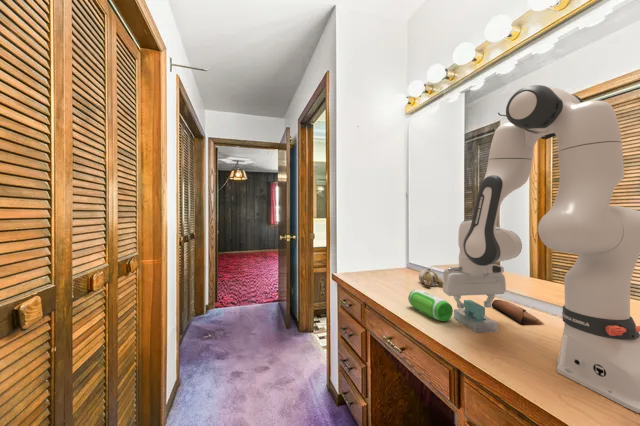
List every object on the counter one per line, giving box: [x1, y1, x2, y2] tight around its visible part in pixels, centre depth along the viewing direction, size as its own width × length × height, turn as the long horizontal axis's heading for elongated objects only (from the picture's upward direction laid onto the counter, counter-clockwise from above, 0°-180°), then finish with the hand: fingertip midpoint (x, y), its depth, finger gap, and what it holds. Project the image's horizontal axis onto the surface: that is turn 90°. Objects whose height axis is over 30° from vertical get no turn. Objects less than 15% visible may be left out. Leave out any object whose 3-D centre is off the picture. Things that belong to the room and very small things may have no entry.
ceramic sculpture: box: [418, 268, 444, 288], centre depth 146 cm, size 11×9×15 cm
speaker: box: [407, 289, 454, 322], centre depth 106 cm, size 18×7×8 cm, turn 16°
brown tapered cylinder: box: [491, 299, 545, 326], centre depth 103 cm, size 18×7×7 cm
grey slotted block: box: [453, 308, 498, 334], centre depth 96 cm, size 13×7×3 cm, turn 3°
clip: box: [463, 299, 486, 321], centre depth 96 cm, size 8×2×7 cm, turn 3°
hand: (474, 307), depth 96 cm, fingers open, 8 cm apart
